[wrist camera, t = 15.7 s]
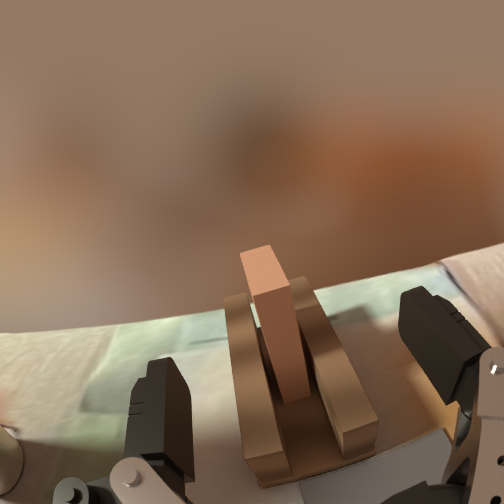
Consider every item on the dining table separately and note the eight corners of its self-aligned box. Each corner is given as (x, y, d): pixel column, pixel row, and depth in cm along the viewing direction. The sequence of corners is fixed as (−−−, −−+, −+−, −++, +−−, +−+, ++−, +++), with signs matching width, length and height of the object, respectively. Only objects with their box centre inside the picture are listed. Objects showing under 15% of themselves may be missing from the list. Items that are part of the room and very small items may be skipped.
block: (311, 396, 26) (289, 285, 20) (284, 404, 25) (252, 296, 20) (293, 350, 31) (269, 244, 25) (270, 357, 31) (239, 253, 25)
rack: (374, 455, 20) (381, 418, 17) (261, 488, 20) (241, 459, 17) (314, 319, 36) (306, 275, 33) (236, 341, 36) (221, 298, 33)
